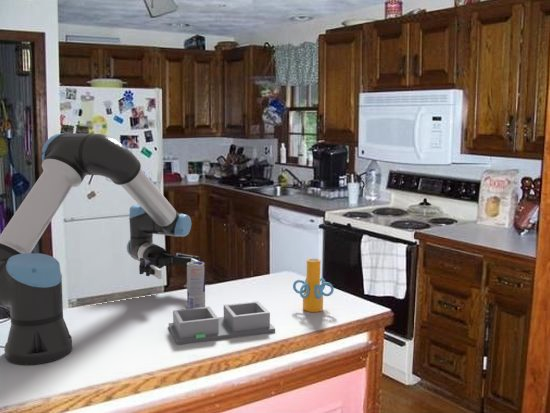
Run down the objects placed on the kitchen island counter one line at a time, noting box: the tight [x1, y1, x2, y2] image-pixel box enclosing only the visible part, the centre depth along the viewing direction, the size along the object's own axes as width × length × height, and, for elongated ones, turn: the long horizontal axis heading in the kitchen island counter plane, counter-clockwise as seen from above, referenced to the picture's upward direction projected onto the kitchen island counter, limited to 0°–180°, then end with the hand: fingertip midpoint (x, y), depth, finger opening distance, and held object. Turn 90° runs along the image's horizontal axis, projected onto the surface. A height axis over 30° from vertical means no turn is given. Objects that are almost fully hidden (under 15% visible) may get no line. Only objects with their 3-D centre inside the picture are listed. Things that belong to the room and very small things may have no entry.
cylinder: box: [292, 257, 335, 313], centre depth 171 cm, size 12×10×15 cm
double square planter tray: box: [168, 300, 276, 346], centre depth 155 cm, size 26×13×5 cm, turn 110°
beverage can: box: [186, 261, 206, 309], centre depth 167 cm, size 5×5×15 cm
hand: (181, 270), depth 174 cm, fingers open, 13 cm apart
